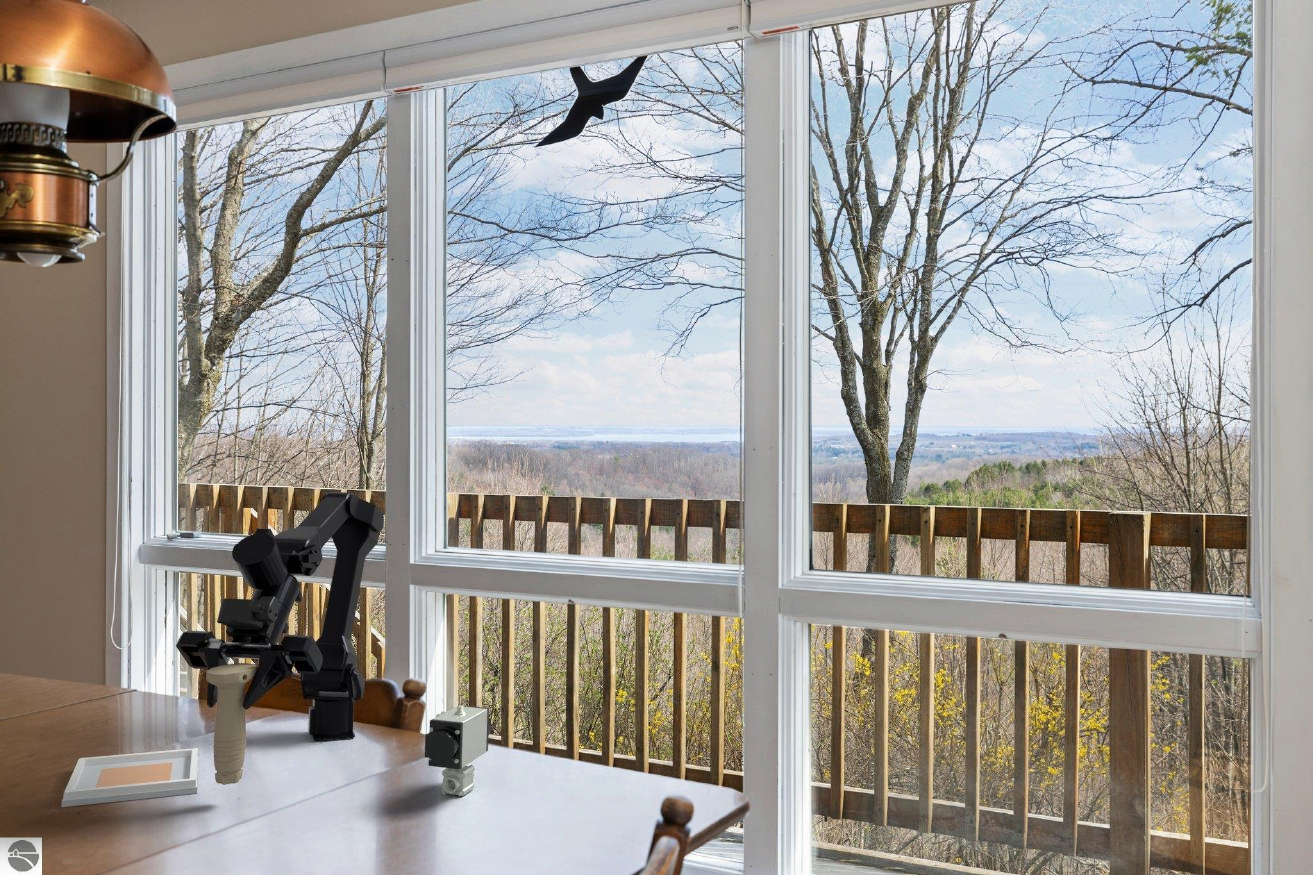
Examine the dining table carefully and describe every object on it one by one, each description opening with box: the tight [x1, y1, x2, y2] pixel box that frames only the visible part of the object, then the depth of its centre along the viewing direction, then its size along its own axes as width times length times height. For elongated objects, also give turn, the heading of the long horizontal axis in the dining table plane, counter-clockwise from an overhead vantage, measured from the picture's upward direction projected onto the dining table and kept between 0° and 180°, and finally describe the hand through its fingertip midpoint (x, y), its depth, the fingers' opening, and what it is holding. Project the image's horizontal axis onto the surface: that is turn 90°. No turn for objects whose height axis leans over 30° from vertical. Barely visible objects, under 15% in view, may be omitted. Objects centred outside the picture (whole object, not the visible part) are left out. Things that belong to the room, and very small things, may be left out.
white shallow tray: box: [61, 747, 200, 808], centre depth 140 cm, size 16×16×2 cm
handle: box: [205, 662, 258, 786], centre depth 132 cm, size 5×6×15 cm
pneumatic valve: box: [424, 704, 492, 797], centre depth 139 cm, size 6×12×12 cm, turn 164°
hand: (226, 706), depth 131 cm, fingers closed on handle, 4 cm apart
